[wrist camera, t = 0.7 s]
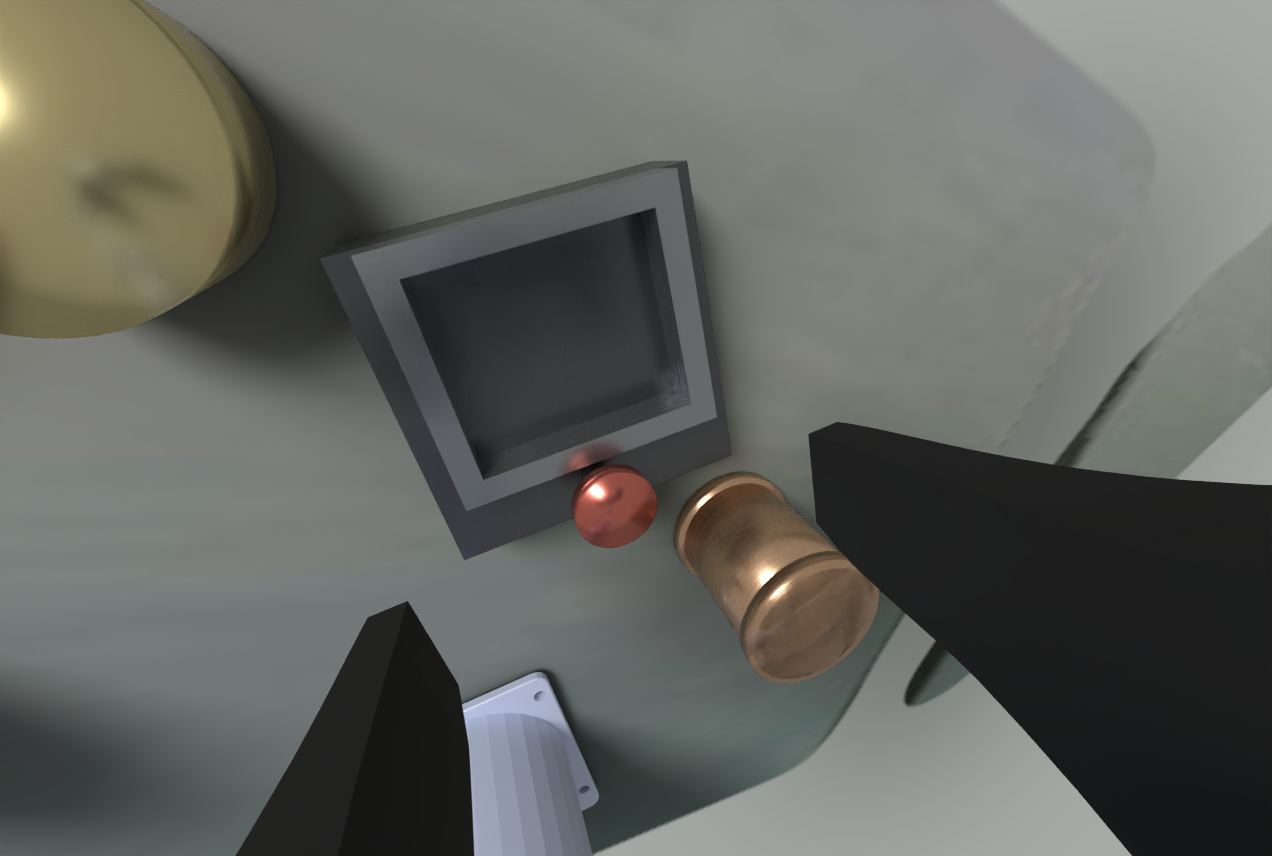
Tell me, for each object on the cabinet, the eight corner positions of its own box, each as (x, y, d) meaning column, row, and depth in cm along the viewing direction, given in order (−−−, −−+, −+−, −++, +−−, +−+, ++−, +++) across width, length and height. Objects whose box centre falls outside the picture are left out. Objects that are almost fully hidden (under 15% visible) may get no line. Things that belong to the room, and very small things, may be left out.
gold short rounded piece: (326, 255, 15) (298, 282, 11) (49, 329, 13) (-79, 385, 10) (180, -54, 12) (79, -149, 8) (-199, 2, 10) (-510, -82, 7)
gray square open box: (699, 425, 21) (767, 487, 17) (459, 515, 19) (470, 610, 15) (651, 161, 16) (728, 159, 12) (334, 245, 14) (301, 275, 10)
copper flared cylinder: (783, 546, 25) (879, 644, 20) (684, 589, 24) (757, 705, 19) (774, 454, 22) (879, 539, 17) (663, 498, 21) (740, 602, 16)
